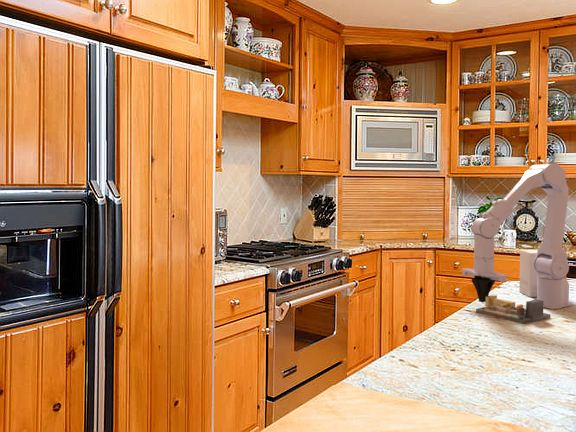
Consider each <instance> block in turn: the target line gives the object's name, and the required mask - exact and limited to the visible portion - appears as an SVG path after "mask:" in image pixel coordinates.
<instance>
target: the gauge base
mask: <svg viewBox="0 0 576 432" xmlns="http://www.w3.org/2000/svg"><path fill="white" fill-rule="evenodd" d="M525 303H526V304H525V308H524V315H523V316H519V315H517V306H515V308H514V309H508V308H501V307H500V306H491V307H486V306H484V307H479V308H478V307H477V308H476V309H475V313H478V314H482V315H485V316H490V317H495V318H499V319H502V320H507V321H511V322H515V323H519V324H523V325H526V324H531V323H535V322H539V321H543V320H547V319H551V314H550V313H546V312H544V307H543V304H544V301H542V300H537V299H532V300H528V301H526V302H525Z"/></svg>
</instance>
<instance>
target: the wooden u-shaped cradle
mask: <svg viewBox="0 0 576 432" xmlns="http://www.w3.org/2000/svg"><path fill="white" fill-rule="evenodd" d="M484 303H485V306H484V307H491V306H500V307H501V308H508V309H514V308H515V307H516V302H515V301H512V300H507V299H503V298H502V299H501V298H498V295H497V294H492V295H488V296H486V302H484Z"/></svg>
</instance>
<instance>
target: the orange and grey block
mask: <svg viewBox="0 0 576 432" xmlns="http://www.w3.org/2000/svg"><path fill="white" fill-rule="evenodd" d="M516 307H517V315H519V316H523V315H524V309H525V308H524V305H523V304H518V305H516Z"/></svg>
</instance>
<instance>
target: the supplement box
mask: <svg viewBox="0 0 576 432" xmlns="http://www.w3.org/2000/svg"><path fill="white" fill-rule="evenodd" d="M537 251H538V249H520V252H519V291H518V292H519V293H521V294H523V295H525V296H527V297H528V298H537V281H538V275H537V272H536V271H535V269H534V267H533V262H534V259H535V258H536V256H537Z"/></svg>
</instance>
